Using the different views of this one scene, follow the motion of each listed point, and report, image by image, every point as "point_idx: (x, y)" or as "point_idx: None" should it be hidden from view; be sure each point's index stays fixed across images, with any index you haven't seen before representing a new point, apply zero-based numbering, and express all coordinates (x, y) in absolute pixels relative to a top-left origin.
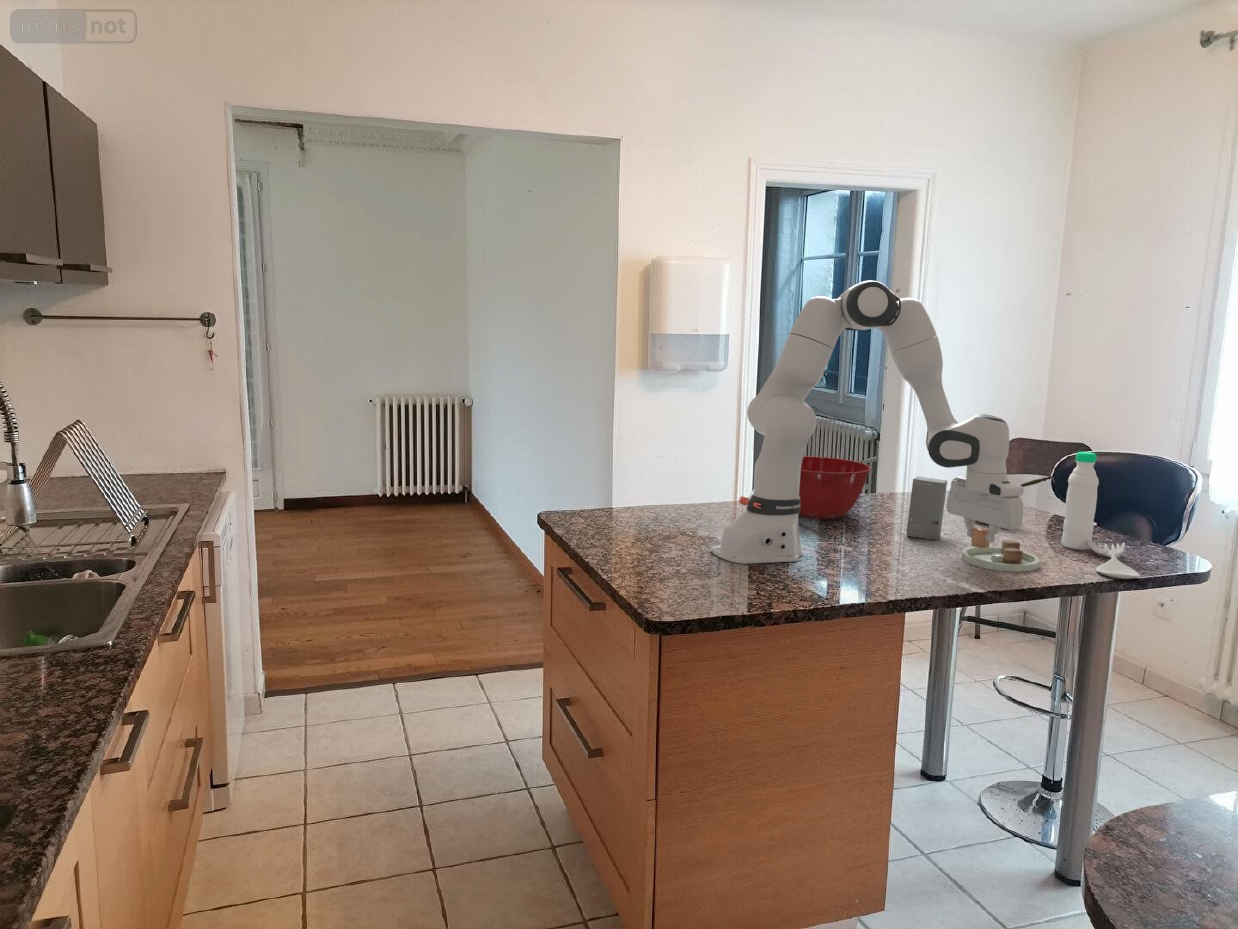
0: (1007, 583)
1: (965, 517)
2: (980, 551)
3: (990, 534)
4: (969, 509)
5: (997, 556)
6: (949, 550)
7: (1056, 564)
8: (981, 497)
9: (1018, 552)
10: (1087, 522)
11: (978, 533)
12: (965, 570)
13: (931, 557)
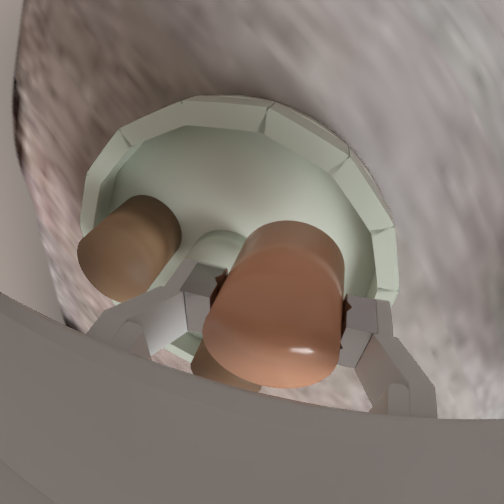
0: (55, 71)
1: (420, 418)
2: None
3: (150, 290)
4: None
5: (207, 253)
6: (485, 293)
7: (185, 371)
8: None
9: (78, 255)
10: None
11: (249, 285)
12: (240, 38)
13: (497, 116)
